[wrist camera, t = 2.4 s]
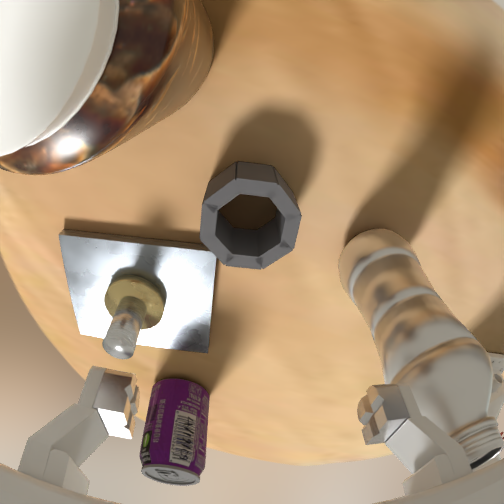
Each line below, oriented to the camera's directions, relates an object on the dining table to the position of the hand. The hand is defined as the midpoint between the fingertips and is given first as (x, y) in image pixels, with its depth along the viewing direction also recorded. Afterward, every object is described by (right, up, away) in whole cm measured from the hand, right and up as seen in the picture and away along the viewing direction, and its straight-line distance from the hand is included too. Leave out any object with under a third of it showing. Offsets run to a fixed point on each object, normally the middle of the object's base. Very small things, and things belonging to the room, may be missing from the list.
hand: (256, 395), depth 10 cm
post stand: (-11, +1, +19) cm, 22 cm away
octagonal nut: (0, +8, +15) cm, 17 cm away
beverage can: (-9, -12, +27) cm, 31 cm away
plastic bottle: (+10, +5, +17) cm, 20 cm away
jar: (-9, +19, +8) cm, 22 cm away
